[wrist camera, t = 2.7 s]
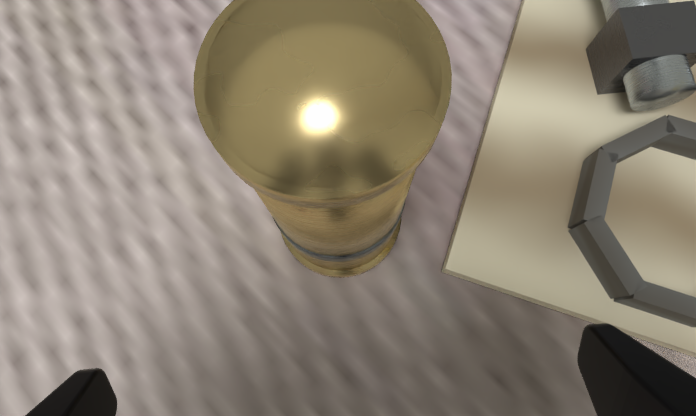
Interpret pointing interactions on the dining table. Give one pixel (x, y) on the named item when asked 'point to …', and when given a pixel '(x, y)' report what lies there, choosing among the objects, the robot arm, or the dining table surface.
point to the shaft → (645, 52)
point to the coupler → (325, 116)
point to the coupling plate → (582, 188)
